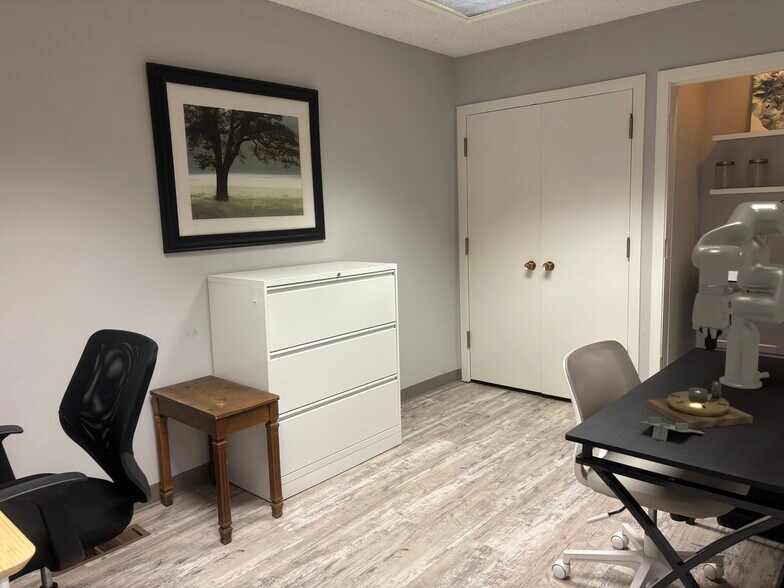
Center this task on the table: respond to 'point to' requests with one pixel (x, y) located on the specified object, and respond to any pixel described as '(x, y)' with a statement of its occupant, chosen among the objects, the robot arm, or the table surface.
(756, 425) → the table surface
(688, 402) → the rotary dial
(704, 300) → the robot arm
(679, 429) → the metal bracket
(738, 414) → the base plate
